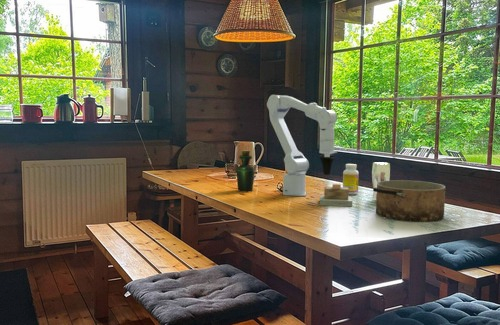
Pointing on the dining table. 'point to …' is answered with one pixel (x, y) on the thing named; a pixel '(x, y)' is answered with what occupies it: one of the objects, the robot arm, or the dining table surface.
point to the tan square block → (336, 186)
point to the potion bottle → (245, 172)
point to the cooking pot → (410, 200)
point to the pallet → (336, 193)
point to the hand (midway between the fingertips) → (326, 173)
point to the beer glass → (379, 174)
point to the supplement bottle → (351, 178)
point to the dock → (335, 201)
